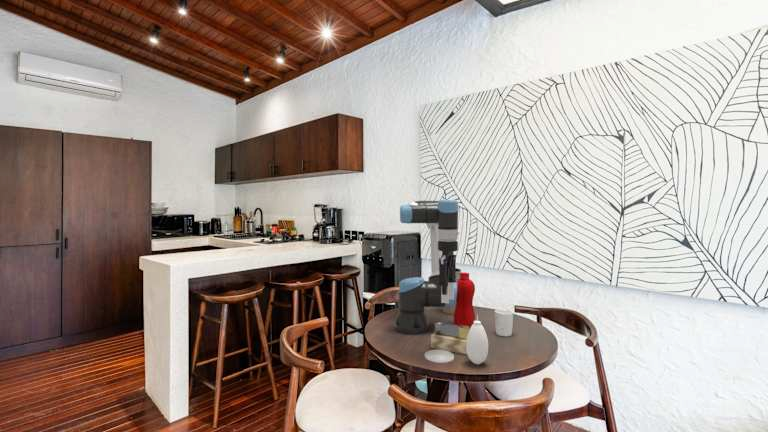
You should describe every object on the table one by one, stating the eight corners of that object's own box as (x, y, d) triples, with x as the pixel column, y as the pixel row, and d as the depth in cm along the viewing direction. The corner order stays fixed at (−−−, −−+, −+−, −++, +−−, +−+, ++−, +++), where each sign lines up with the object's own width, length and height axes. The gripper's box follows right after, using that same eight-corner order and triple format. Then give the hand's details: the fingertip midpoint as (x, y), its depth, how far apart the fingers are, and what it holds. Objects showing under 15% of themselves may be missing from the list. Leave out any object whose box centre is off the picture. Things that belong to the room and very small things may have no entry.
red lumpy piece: (477, 322, 181) (477, 271, 180) (471, 329, 171) (471, 275, 170) (458, 319, 185) (459, 269, 184) (451, 325, 176) (452, 273, 175)
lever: (433, 333, 150) (433, 323, 150) (436, 330, 153) (436, 320, 153) (466, 339, 144) (466, 328, 144) (469, 336, 147) (469, 325, 147)
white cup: (514, 337, 160) (514, 314, 160) (495, 336, 162) (495, 313, 161) (511, 331, 168) (512, 309, 168) (493, 330, 169) (493, 308, 169)
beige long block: (431, 347, 149) (431, 329, 149) (436, 341, 155) (437, 324, 155) (481, 357, 140) (481, 337, 140) (485, 350, 146) (485, 331, 146)
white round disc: (420, 359, 138) (420, 357, 138) (430, 349, 148) (430, 347, 148) (448, 365, 133) (448, 363, 133) (457, 354, 142) (457, 352, 142)
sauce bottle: (464, 366, 132) (464, 316, 132) (467, 357, 140) (467, 310, 139) (487, 369, 129) (487, 318, 129) (489, 360, 137) (489, 312, 136)
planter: (456, 315, 192) (456, 271, 191) (438, 312, 197) (439, 270, 197) (463, 310, 200) (463, 268, 199) (446, 307, 206) (446, 267, 205)
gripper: (449, 243, 131) (449, 308, 132) (464, 238, 147) (463, 296, 148) (429, 242, 134) (429, 305, 135) (446, 237, 151) (445, 294, 151)
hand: (447, 300), depth 142 cm, fingers open, 5 cm apart
